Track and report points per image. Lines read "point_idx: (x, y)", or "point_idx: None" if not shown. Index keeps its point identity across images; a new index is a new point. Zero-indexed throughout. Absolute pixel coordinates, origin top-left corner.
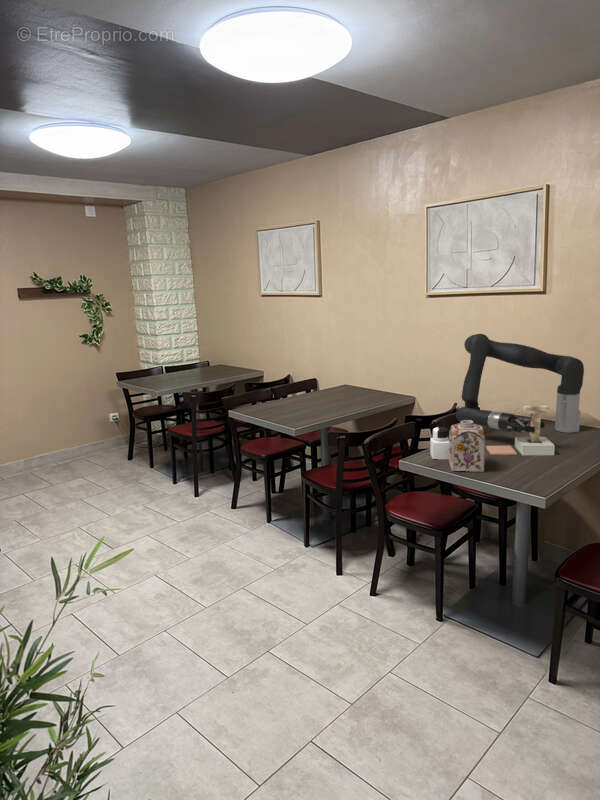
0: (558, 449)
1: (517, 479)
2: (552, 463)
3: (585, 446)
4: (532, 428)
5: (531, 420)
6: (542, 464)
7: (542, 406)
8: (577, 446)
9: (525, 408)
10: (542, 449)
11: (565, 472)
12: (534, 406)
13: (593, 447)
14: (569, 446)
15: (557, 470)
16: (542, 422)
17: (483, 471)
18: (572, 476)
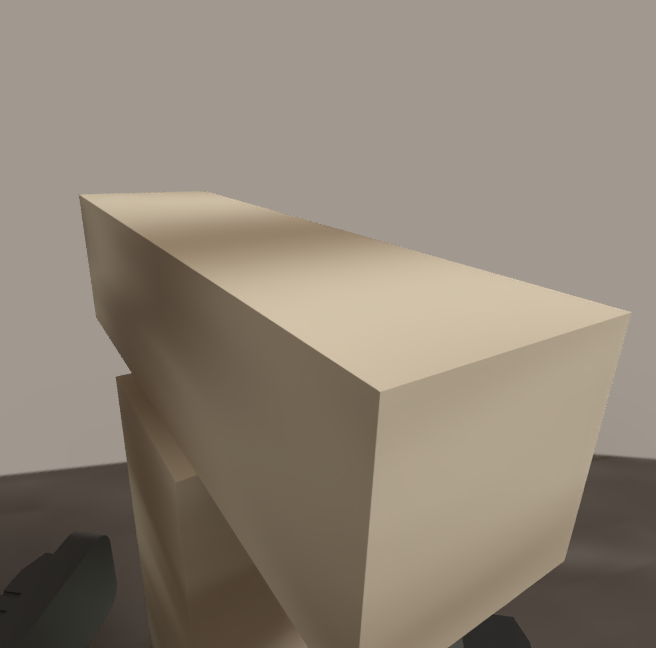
0: (121, 644)
1: None
2: (531, 589)
3: (3, 506)
4: (499, 617)
5: (290, 625)
6: (627, 645)
7: (200, 205)
8: (3, 543)
9: (596, 362)
10: None
11: (607, 497)
12: (267, 236)
13: (28, 472)
14: (4, 589)
15: (625, 533)
16: (74, 552)
17: None
18: (623, 466)
